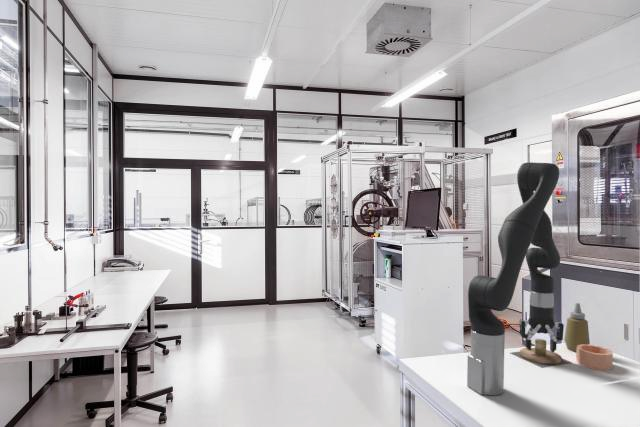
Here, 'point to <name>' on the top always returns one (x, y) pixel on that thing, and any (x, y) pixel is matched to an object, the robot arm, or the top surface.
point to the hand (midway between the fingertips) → (540, 350)
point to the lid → (541, 354)
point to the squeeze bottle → (576, 329)
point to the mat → (541, 364)
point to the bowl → (594, 357)
